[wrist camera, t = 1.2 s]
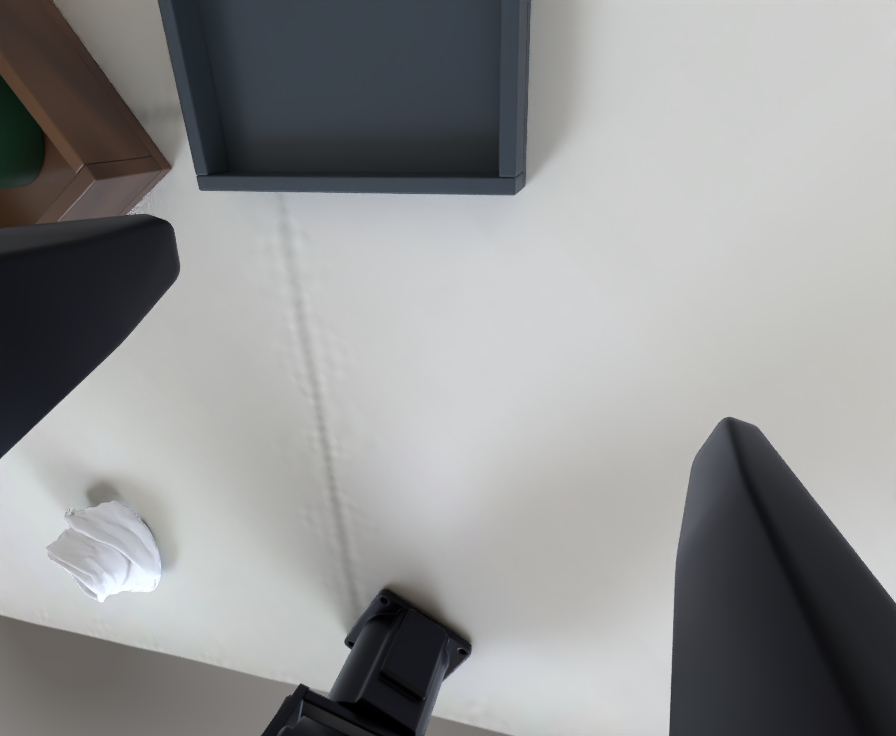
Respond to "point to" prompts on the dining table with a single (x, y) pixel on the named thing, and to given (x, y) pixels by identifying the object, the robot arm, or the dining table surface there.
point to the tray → (353, 94)
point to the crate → (71, 124)
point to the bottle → (18, 141)
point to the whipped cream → (107, 551)
